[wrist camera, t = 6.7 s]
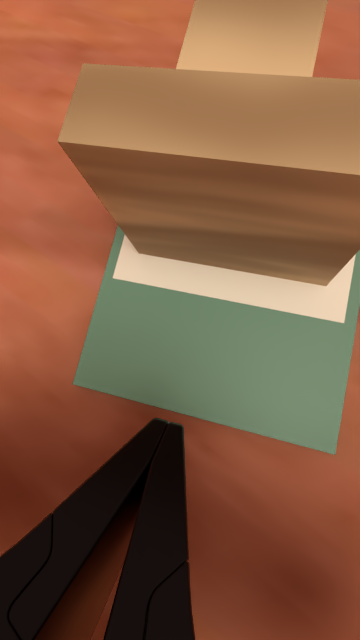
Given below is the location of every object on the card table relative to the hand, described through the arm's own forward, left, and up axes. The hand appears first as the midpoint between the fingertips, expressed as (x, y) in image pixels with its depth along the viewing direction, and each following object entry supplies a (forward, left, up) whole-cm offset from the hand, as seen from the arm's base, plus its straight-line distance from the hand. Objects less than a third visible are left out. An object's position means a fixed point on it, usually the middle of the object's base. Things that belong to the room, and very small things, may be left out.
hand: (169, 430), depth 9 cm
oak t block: (+8, +8, -6) cm, 12 cm away
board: (+5, +5, -6) cm, 10 cm away
